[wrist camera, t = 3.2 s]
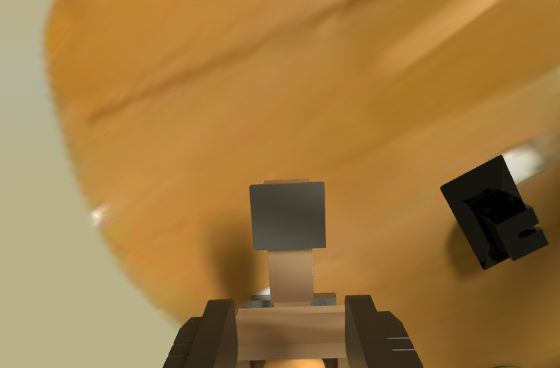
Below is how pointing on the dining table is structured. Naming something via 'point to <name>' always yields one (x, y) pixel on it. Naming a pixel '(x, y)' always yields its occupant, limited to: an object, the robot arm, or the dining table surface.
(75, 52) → the dining table surface
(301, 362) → the ball
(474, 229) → the black box
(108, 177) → the dining table surface
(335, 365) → the lever
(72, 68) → the dining table surface
